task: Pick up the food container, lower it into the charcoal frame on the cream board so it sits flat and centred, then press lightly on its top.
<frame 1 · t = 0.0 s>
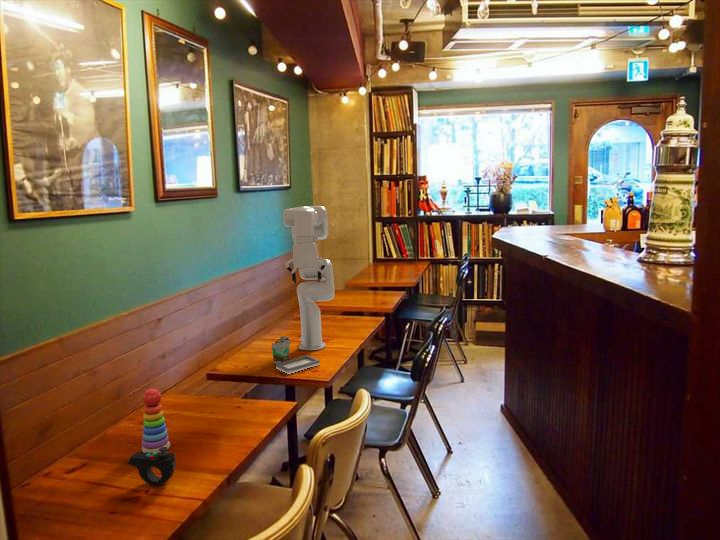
hand: (307, 282, 223), 37 cm above the table, tool pointing down, fingers open, 9 cm apart
framed board: (298, 367, 232), on the table
stacking toy: (156, 450, 164), on the table
food container: (284, 362, 241), on the table
controller: (154, 484, 145), on the table
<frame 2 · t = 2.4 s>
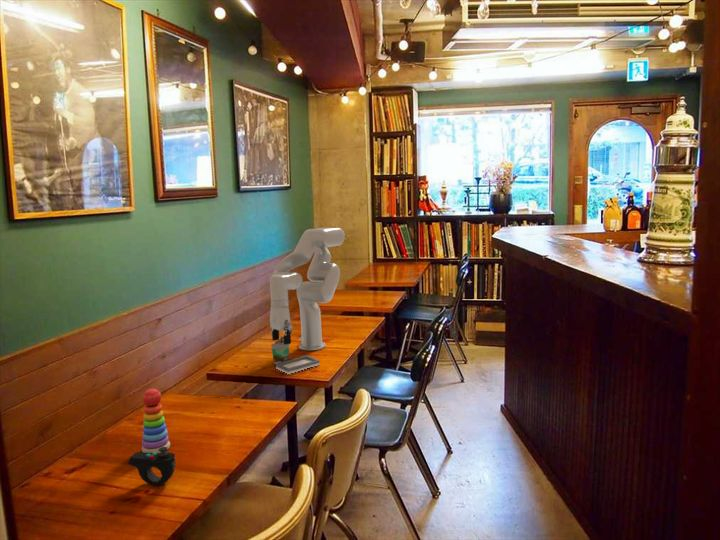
hand: (281, 341, 239), 9 cm above the table, tool pointing down, fingers open, 9 cm apart
food container: (284, 362, 241), on the table, touching gripper
everything else where it was.
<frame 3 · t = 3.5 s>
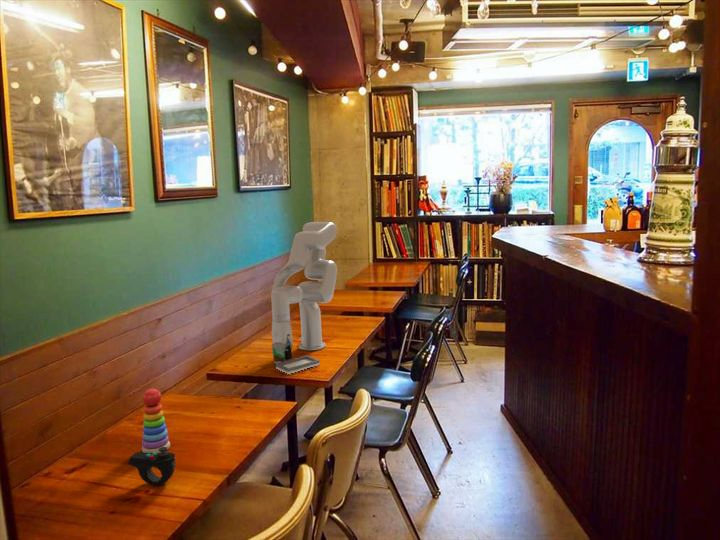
hand: (283, 356, 240), 2 cm above the table, tool pointing down, fingers closed on food container, 6 cm apart
food container: (285, 362, 240), on the table, touching gripper
everything else where it was.
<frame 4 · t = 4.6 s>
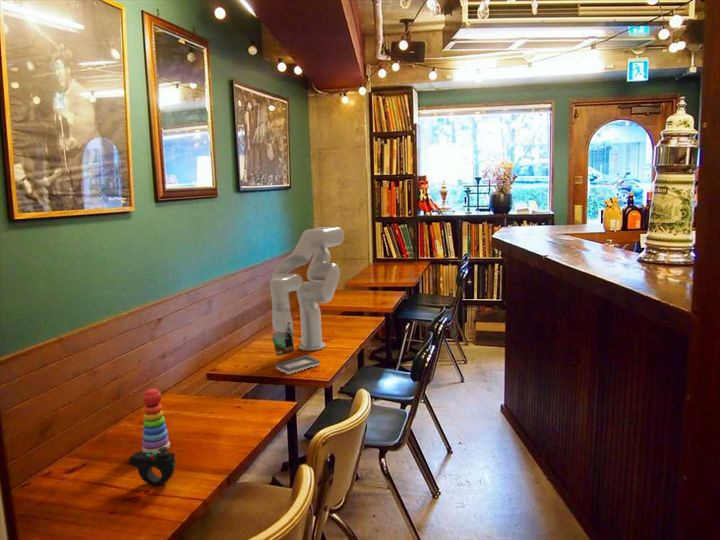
hand: (285, 344, 241), 7 cm above the table, tool pointing down, fingers closed on food container, 6 cm apart
food container: (288, 352, 241), point 4 cm above the table, touching gripper
everything else where it was.
when the fingers open (5 cm above the table, at t = 9.1 s): food container stays where it is, resting on framed board.
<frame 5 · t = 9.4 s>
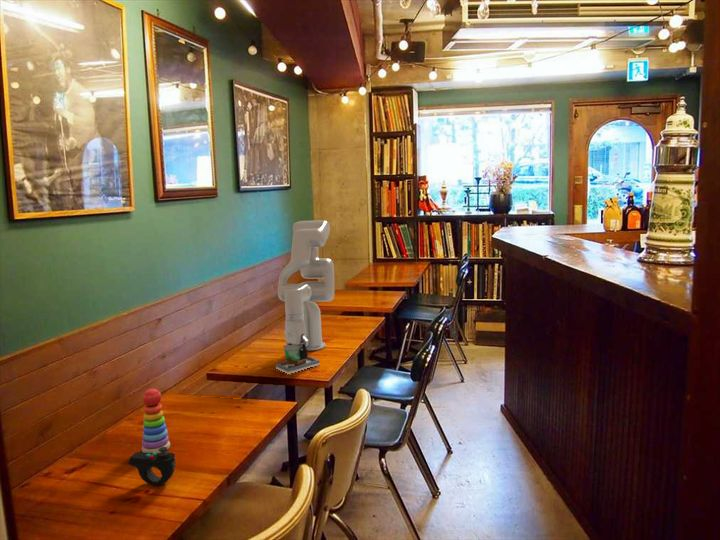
hand: (297, 356, 232), 5 cm above the table, tool pointing down, fingers open, 9 cm apart
food container: (300, 365, 231), point 1 cm above the table, touching framed board, gripper
everything else where it was.
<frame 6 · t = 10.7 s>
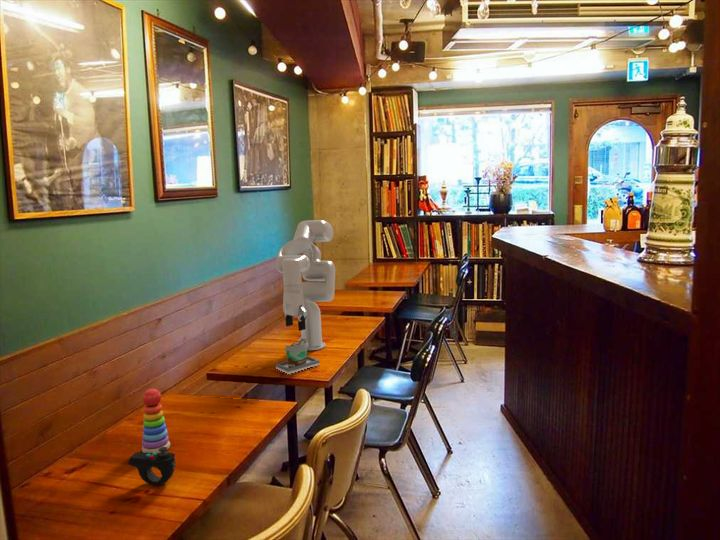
hand: (295, 327, 230), 17 cm above the table, tool pointing down, fingers open, 9 cm apart
food container: (300, 365, 231), point 1 cm above the table, touching framed board
everything else where it was.
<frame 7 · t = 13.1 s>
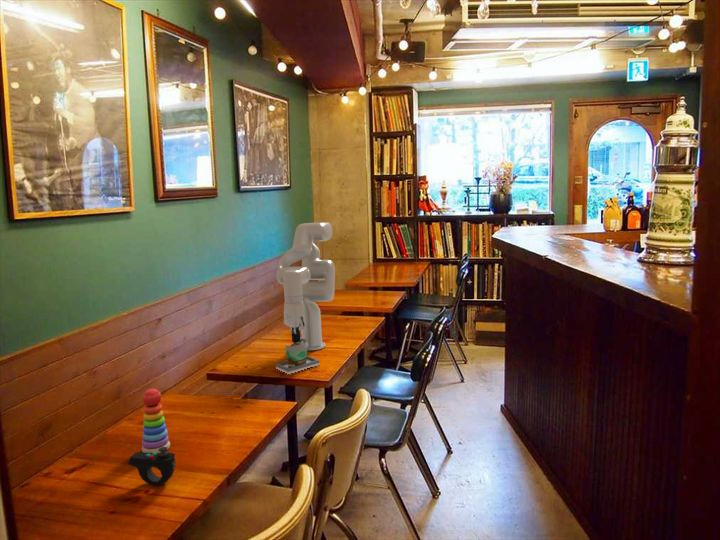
hand: (296, 341, 231), 11 cm above the table, tool pointing down, fingers closed
food container: (300, 365, 231), point 1 cm above the table, touching framed board, gripper
everything else where it was.
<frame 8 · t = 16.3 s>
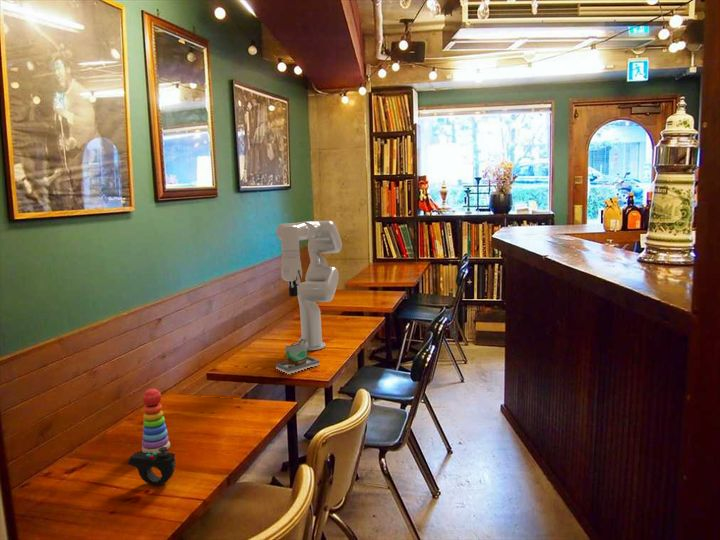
hand: (293, 295, 237), 29 cm above the table, tool pointing down, fingers closed
food container: (300, 365, 231), point 1 cm above the table, touching framed board
everything else where it was.
at the end: food container 1.8 cm off-centre on the framed board, point 1.0 cm above the framed board's base; food container tilted 0°; the gripper is holding nothing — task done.
